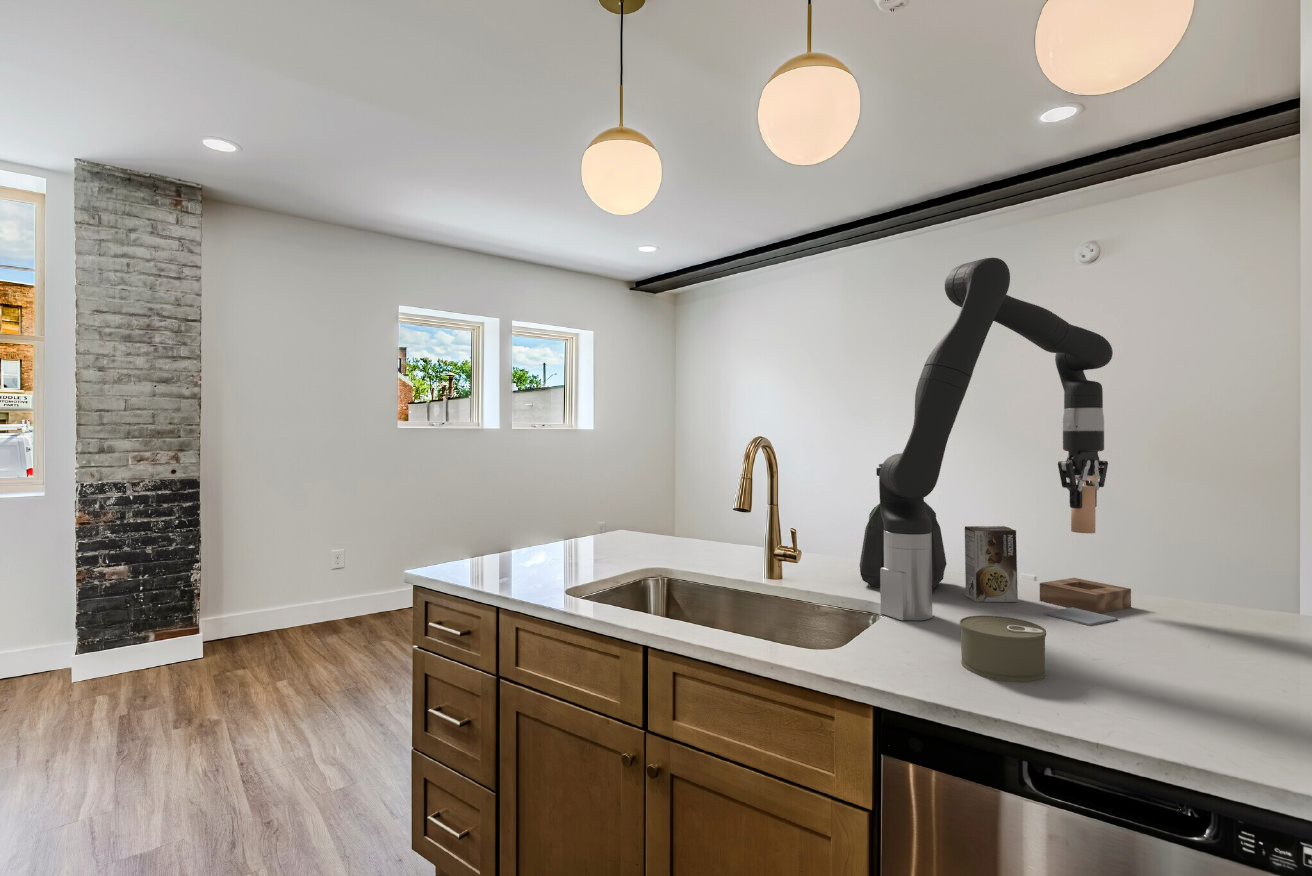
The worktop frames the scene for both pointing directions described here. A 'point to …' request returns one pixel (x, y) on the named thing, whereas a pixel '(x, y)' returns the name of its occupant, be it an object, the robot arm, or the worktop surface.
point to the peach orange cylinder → (1084, 512)
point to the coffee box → (991, 564)
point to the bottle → (875, 548)
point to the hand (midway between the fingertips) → (1083, 507)
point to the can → (1003, 648)
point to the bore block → (1085, 595)
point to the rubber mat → (1080, 616)
